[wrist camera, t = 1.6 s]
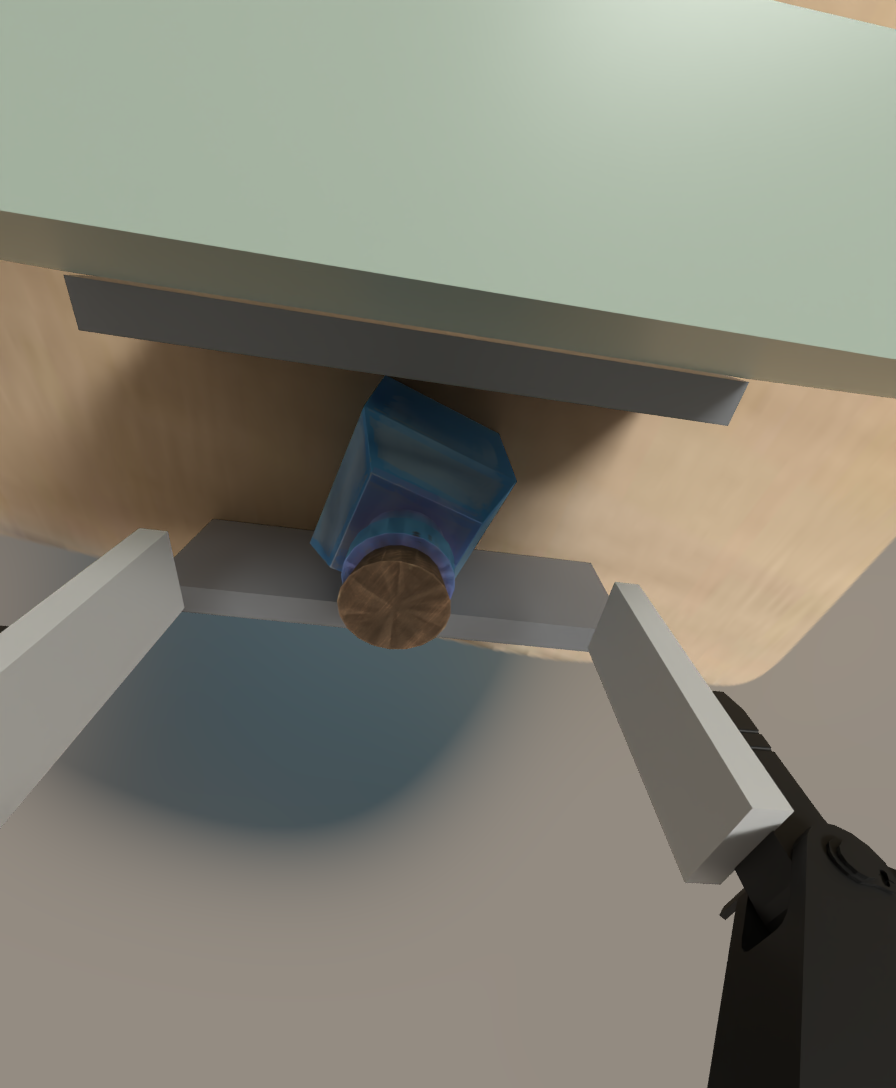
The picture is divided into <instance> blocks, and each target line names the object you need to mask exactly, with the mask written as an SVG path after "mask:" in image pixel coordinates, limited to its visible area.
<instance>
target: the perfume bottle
mask: <svg viewBox="0 0 896 1088" xmlns="http://www.w3.org/2000/svg"><path fill="white" fill-rule="evenodd" d="M516 482H517V480H516V477H515V475H514V472H513V469H512V467H511V464H510V462H509V459H508V456H507V454H506V451H505V448H504V446H503V443H502V441H501V438H500V435H499V434H498V433H496V432H495V431H493V430H491V429H489V428H487V427H485V426H483V425H481V424H479V423H477V422H475V421H473V420H471V419H469V418H468V417H466V416H464V415H462V414H460V413H458V412H456V411H454V410H452V409H450V408H448V407H446V406H444V405H442V404H441V403H439V402H437V401H435V400H433V399H431V398H429V397H427V396H425V395H423V394H421V393H419V392H417V391H415V390H414V389H412V388H410V387H408V386H406V385H404V384H402V383H400V382H398V381H396V380H394V379H392V378H390V377H388V376H386V375H385V376H384V378H383V379H382V381H381V382H380V383H379V385H378V386H377V388H376V389H375V391H374V392H373V394H372V395H371V397H370V398H369V399H368V401H367V402H366V404H365V405H364V407H363V410H362V412H361V415H360V417H359V420H358V422H357V425H356V428H355V430H354V433H353V435H352V438H351V440H350V443H349V445H348V448H347V450H346V453H345V455H344V458H343V460H342V463H341V465H340V468H339V470H338V473H337V476H336V478H335V481H334V483H333V486H332V488H331V491H330V493H329V496H328V498H327V501H326V503H325V506H324V508H323V511H322V513H321V516H320V518H319V521H318V524H317V526H316V529H315V531H314V534H313V536H312V539H311V541H310V544H311V545H312V547H313V548H314V549H315V550H316V551H317V552H318V554H319V555H320V556H321V557H322V558H323V560H324V561H325V562H326V563H327V564H328V565H329V567H331V568H333V569H336V570H338V571H341V572H342V573H341V578H342V584H343V585H342V586H341V587H340V591H339V595H338V599H337V604H338V610H339V616H340V617H341V619H342V621H343V622H344V624H345V626H346V627H347V628H348V629H349V630H350V631H351V632H352V633H353V634H355V635H356V636H357V637H358V638H359V639H362V640H363V641H365V642H367V643H369V644H371V645H374V646H378V647H383V648H387V649H408V648H412V647H416V646H420V645H423V644H424V643H427V642H428V641H430V640H432V639H434V638H436V637H437V635H438V634H439V633H440V632H441V631H442V630H443V629H444V628H445V627H446V624H447V622H448V620H449V617H450V615H451V600H450V599H451V597H452V594H453V592H454V589H455V578H456V577H457V575H458V574H459V572H460V570H461V569H462V567H463V566H464V564H465V562H466V561H467V559H468V558H469V556H470V555H471V553H472V551H473V550H474V548H475V547H476V545H477V544H478V542H479V540H480V539H481V537H482V536H483V534H484V532H485V531H486V529H487V528H488V526H489V525H490V523H491V521H492V520H493V518H494V517H495V515H496V514H497V512H498V510H499V509H500V507H501V506H502V504H503V503H504V501H505V499H506V498H507V496H508V495H509V493H510V491H511V490H512V488H513V487H514V485H515V484H516Z"/></svg>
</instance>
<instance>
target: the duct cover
mask: <svg viewBox="0 0 896 1088" xmlns="http://www.w3.org/2000/svg"><path fill="white" fill-rule="evenodd" d="M0 260H4V261H10V262H16V263H21V264H27V265H33V266H38V267H44V268H50V269H55V270H61V271H67V272H73V273H80V274H86V275H92V276H99V277H105V278H111V279H118V280H124V281H130V282H137V283H143V284H149V285H156V286H162V287H169V288H175V289H181V290H188V291H194V292H200V293H207V294H213V295H219V296H226V297H232V298H238V299H245V300H251V301H257V302H264V303H270V304H276V305H283V306H289V307H295V308H302V309H308V310H315V311H321V312H327V313H334V314H340V315H346V316H353V317H359V318H365V319H372V320H378V321H384V322H391V323H397V324H403V325H410V326H416V327H422V328H429V329H435V330H441V331H448V332H454V333H461V334H467V335H473V336H480V337H486V338H492V339H499V340H505V341H511V342H518V343H524V344H530V345H537V346H543V347H549V348H556V349H562V350H568V351H575V352H581V353H588V354H594V355H600V356H607V357H613V358H619V359H626V360H632V361H638V362H645V363H651V364H657V365H664V366H670V367H676V368H683V369H689V370H695V371H702V372H708V373H714V374H721V375H727V376H734V377H740V378H746V379H753V380H760V381H768V382H775V383H783V384H790V385H798V386H805V387H813V388H820V389H827V390H835V391H842V392H850V393H857V394H865V395H872V396H880V397H887V398H895V399H896V29H892V28H888V27H883V26H879V25H875V24H871V23H866V22H862V21H858V20H854V19H849V18H845V17H841V16H837V15H832V14H828V13H824V12H820V11H815V10H811V9H807V8H803V7H798V6H794V5H790V4H786V3H781V2H777V1H773V0H0Z"/></svg>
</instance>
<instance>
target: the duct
mask: <svg viewBox="0 0 896 1088" xmlns="http://www.w3.org/2000/svg"><path fill="white" fill-rule="evenodd" d="M64 278H65V282H66V285H67V289H68V293H69V296H70V300H71V304H72V307H73V311H74V314H75V318H76V322H77V325H78V329H79V330H81V331H88V332H95V333H101V334H108V335H115V336H122V337H128V338H135V339H142V340H149V341H156V342H162V343H169V344H176V345H183V346H190V347H196V348H203V349H210V350H217V351H223V352H230V353H237V354H244V355H251V356H257V357H264V358H271V359H278V360H285V361H291V362H298V363H305V364H312V365H318V366H325V367H332V368H339V369H346V370H352V371H359V372H366V373H373V374H380V375H386V376H393V377H400V378H407V379H413V380H420V381H427V382H434V383H441V384H447V385H454V386H461V387H468V388H475V389H481V390H488V391H495V392H502V393H508V394H515V395H522V396H529V397H536V398H542V399H549V400H556V401H563V402H569V403H576V404H583V405H590V406H597V407H603V408H610V409H617V410H624V411H631V412H637V413H644V414H651V415H658V416H664V417H671V418H678V419H685V420H692V421H698V422H705V423H712V424H719V425H726V426H728V425H729V422H730V420H731V418H732V416H733V414H734V412H735V410H736V408H737V406H738V404H739V402H740V400H741V398H742V396H743V393H744V391H745V389H746V387H747V385H748V383H749V382H746V381H743V380H740V379H737V378H733V377H730V376H727V375H721V374H714V373H708V372H702V371H695V370H689V369H683V368H676V367H670V366H664V365H657V364H651V363H645V362H638V361H632V360H626V359H619V358H613V357H607V356H600V355H594V354H588V353H581V352H575V351H568V350H562V349H556V348H549V347H543V346H537V345H530V344H524V343H518V342H511V341H505V340H499V339H492V338H486V337H480V336H473V335H467V334H461V333H454V332H448V331H441V330H435V329H429V328H422V327H416V326H410V325H403V324H397V323H391V322H384V321H378V320H372V319H365V318H359V317H353V316H346V315H340V314H334V313H327V312H321V311H315V310H308V309H302V308H295V307H289V306H283V305H276V304H270V303H264V302H257V301H251V300H245V299H238V298H232V297H226V296H219V295H213V294H207V293H200V292H194V291H188V290H181V289H175V288H169V287H162V286H156V285H149V284H143V283H137V282H130V281H124V280H118V279H111V278H105V277H99V276H83V275H64ZM313 534H314V531H312V530H303V529H294V528H286V527H277V526H269V525H260V524H251V523H243V522H234V521H226V520H217V519H212V520H211V521H210V522H209V523H208V524H207V525H206V526H205V527H204V528H203V529H202V530H201V531H200V532H199V533H198V534H197V535H196V536H195V537H194V538H193V539H192V540H191V541H190V542H189V543H188V544H187V545H186V546H185V547H184V548H183V549H182V550H181V551H180V552H179V553H178V554H177V555H176V556H175V557H174V562H175V567H176V571H177V576H178V580H179V585H180V590H181V594H182V599H183V603H184V609H183V610H182V611H181V612H191V613H202V614H212V615H222V616H232V617H242V618H252V619H262V620H272V621H282V622H292V623H303V624H313V625H323V626H333V627H344V628H347V627H346V626H345V624H344V622H343V621H342V619H341V617H340V616H339V610H338V604H337V599H338V595H339V591H340V587H341V586H342V585H343V584H342V578H341V573H342V572H341V571H338V570H336V569H333V568H331V567H329V565H328V564H327V563H326V562H325V561H324V560H323V558H322V557H321V556H320V555H319V554H318V552H317V551H316V550H315V549H314V548H313V547H312V545H311V544H310V541H311V539H312V536H313ZM608 597H609V596H608V594H607V592H606V590H605V588H604V587H603V585H602V583H601V581H600V579H599V577H598V575H597V574H596V572H595V570H594V568H593V566H592V564H591V563H586V562H578V561H569V560H560V559H552V558H543V557H535V556H526V555H518V554H509V553H500V552H492V551H483V550H475V549H474V550H473V551H472V553H471V555H470V556H469V558H468V559H467V561H466V562H465V564H464V566H463V567H462V569H461V570H460V572H459V574H458V575H457V577H456V578H455V589H454V592H453V594H452V597H451V599H450V600H451V615H450V617H449V620H448V622H447V624H446V627H445V628H444V629H443V630H442V631H441V632H440V633H439V634H438V635H437V637H444V638H454V639H464V640H474V641H484V642H494V643H504V644H515V645H525V646H535V647H545V648H555V649H565V650H575V651H585V652H589V650H588V646H589V643H590V641H591V638H592V636H593V634H594V631H595V629H596V626H597V624H598V622H599V619H600V617H601V614H602V612H603V609H604V607H605V605H606V602H607V600H608Z"/></svg>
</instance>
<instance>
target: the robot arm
mask: <svg viewBox="0 0 896 1088" xmlns="http://www.w3.org/2000/svg"><path fill="white" fill-rule="evenodd" d="M183 609H184V603H183V599H182V594H181V590H180V585H179V580H178V576H177V571H176V567H175V562H174V557H173V553H172V548H171V544H170V539H169V534H168V531H161V530H152V529H143V528H139V529H137V530H136V531H135V532H133V533H132V534H131V535H129V536H128V537H127V538H126V539H124V540H123V541H122V542H120V543H119V544H118V545H116V546H115V547H114V548H112V549H111V550H110V551H108V552H107V553H106V554H104V555H103V556H102V557H100V558H99V559H98V560H96V561H95V562H94V563H93V564H91V565H90V566H89V567H87V568H86V569H84V570H83V571H82V572H81V573H79V574H78V575H77V576H75V577H74V578H73V579H71V580H70V581H69V582H67V583H66V584H65V585H63V586H62V587H61V588H59V589H58V590H57V591H55V592H54V593H53V594H51V595H50V596H49V597H47V598H46V599H45V600H44V601H42V602H41V603H40V604H38V605H37V606H36V607H34V608H33V609H32V610H30V611H29V612H28V613H26V614H25V615H24V616H22V617H21V618H20V619H18V620H17V621H16V622H14V623H13V624H12V625H10V626H0V828H1V827H2V826H3V824H4V823H5V822H6V821H7V820H8V818H9V817H10V816H11V815H12V814H13V813H14V811H15V810H16V809H17V808H18V807H19V805H20V804H21V803H22V802H23V801H24V799H25V798H26V797H27V796H28V795H29V793H30V792H31V791H32V790H33V789H34V787H35V786H36V785H37V784H38V783H39V781H40V780H41V779H42V778H43V777H44V775H45V774H46V773H47V772H48V771H49V769H50V768H51V767H52V766H53V765H54V763H55V762H56V761H57V760H58V759H59V758H60V756H61V755H62V754H63V753H64V752H65V750H66V749H67V748H68V747H69V746H70V744H71V743H72V742H73V741H74V740H75V738H76V737H77V736H78V735H79V733H80V732H81V731H82V730H83V729H84V728H85V726H86V725H87V724H88V723H89V721H90V720H91V719H92V718H93V717H94V716H95V714H96V713H97V712H98V711H99V710H100V708H101V707H102V706H103V705H104V704H105V702H106V701H107V700H108V699H109V698H110V696H111V695H112V694H113V693H114V692H115V690H116V689H117V688H118V687H119V686H120V684H121V683H122V682H123V681H124V680H125V679H126V677H127V676H128V675H129V674H130V673H131V671H132V670H133V669H134V668H135V667H136V665H137V664H138V663H139V662H140V661H141V659H142V658H143V657H144V656H145V655H146V653H147V652H148V651H149V650H150V648H151V647H152V646H153V645H154V644H155V642H156V641H157V640H158V639H159V638H160V637H161V635H162V634H163V633H164V632H165V631H166V629H167V628H168V627H169V626H170V625H171V623H172V622H173V621H174V620H175V619H176V617H177V616H178V615H179V614H180V613H181V611H182V610H183ZM588 650H589V653H590V655H591V658H592V660H593V662H594V665H595V667H596V670H597V672H598V674H599V677H600V679H601V682H602V684H603V687H604V689H605V691H606V694H607V696H608V699H609V701H610V703H611V706H612V708H613V711H614V713H615V716H616V718H617V720H618V723H619V725H620V728H621V730H622V732H623V735H624V737H625V740H626V742H627V744H628V747H629V749H630V752H631V754H632V756H633V759H634V761H635V764H636V766H637V769H638V771H639V773H640V776H641V778H642V781H643V783H644V785H645V788H646V790H647V793H648V795H649V797H650V800H651V802H652V805H653V807H654V809H655V812H656V814H657V817H658V819H659V822H660V824H661V826H662V829H663V831H664V833H665V836H666V838H667V841H668V843H669V846H670V848H671V851H672V853H673V855H674V858H675V860H676V863H677V865H678V867H679V870H680V872H681V875H682V877H683V879H684V882H685V883H703V884H721V883H722V882H723V881H724V880H725V879H726V878H727V877H728V876H729V875H730V874H731V873H732V872H733V871H734V870H735V871H736V873H737V875H738V876H739V879H740V880H741V882H742V885H743V887H744V889H742V890H741V891H740V892H739V893H738V894H737V895H736V896H735V897H734V898H733V899H732V900H731V901H729V902H728V903H727V904H726V905H725V906H724V908H723V909H722V911H721V913H720V916H721V917H722V918H723V919H725V920H726V919H727V918H728V917H729V916H730V915H731V914H733V913H734V912H735V916H734V923H733V929H732V936H731V942H730V948H729V954H728V961H727V967H726V973H725V980H724V986H723V993H722V999H721V1005H720V1011H719V1018H718V1024H717V1030H716V1036H715V1043H714V1049H713V1056H712V1062H711V1068H710V1074H709V1081H708V1087H707V1088H896V870H895V869H892V868H890V867H888V866H887V865H886V863H885V862H884V861H883V860H882V859H881V858H880V857H879V856H878V855H877V854H876V853H875V852H874V851H873V850H872V849H871V848H870V847H869V846H868V845H867V844H865V843H864V842H862V841H861V840H859V839H858V838H857V837H856V836H854V835H853V834H851V833H849V832H847V831H845V830H843V829H841V828H839V827H837V826H835V825H831V824H828V823H827V822H826V821H825V820H824V819H823V817H822V816H821V815H820V813H819V812H818V811H817V809H816V808H815V807H814V805H813V804H812V803H811V801H810V800H809V799H808V797H807V796H806V795H805V793H804V792H803V790H802V789H801V788H800V786H799V785H798V784H797V782H796V781H795V779H794V778H793V777H792V775H791V774H790V773H789V771H788V770H787V768H786V767H785V766H784V764H783V763H782V762H781V760H780V759H779V758H778V756H777V755H776V753H775V752H772V751H771V747H770V745H769V744H768V742H767V741H766V740H765V738H764V737H763V736H762V735H761V734H759V733H758V729H757V727H756V726H755V725H754V723H753V722H752V721H751V719H750V718H749V717H748V715H747V714H746V712H745V711H744V710H743V709H742V708H741V707H740V706H739V705H737V704H736V703H735V702H734V701H733V700H732V699H731V698H730V697H728V696H727V695H726V694H725V693H724V692H717V691H711V689H710V688H709V686H708V685H707V683H706V682H705V680H704V679H703V678H702V676H701V675H700V673H699V672H698V670H697V669H696V667H695V666H694V664H693V663H692V661H691V660H690V659H689V657H688V656H687V654H686V653H685V651H684V650H683V648H682V647H681V645H680V644H679V643H678V641H677V640H676V638H675V637H674V635H673V634H672V632H671V631H670V629H669V628H668V626H667V625H666V624H665V622H664V621H663V619H662V618H661V616H660V615H659V613H658V612H657V610H656V609H655V608H654V606H653V605H652V603H651V602H650V600H649V599H648V597H647V596H646V594H645V593H644V592H643V590H642V589H641V587H640V586H639V585H638V584H629V583H620V582H615V583H614V585H613V588H612V590H611V593H610V595H609V597H608V600H607V602H606V605H605V607H604V609H603V612H602V614H601V617H600V619H599V622H598V624H597V626H596V629H595V631H594V634H593V636H592V638H591V641H590V643H589V646H588Z"/></svg>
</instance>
